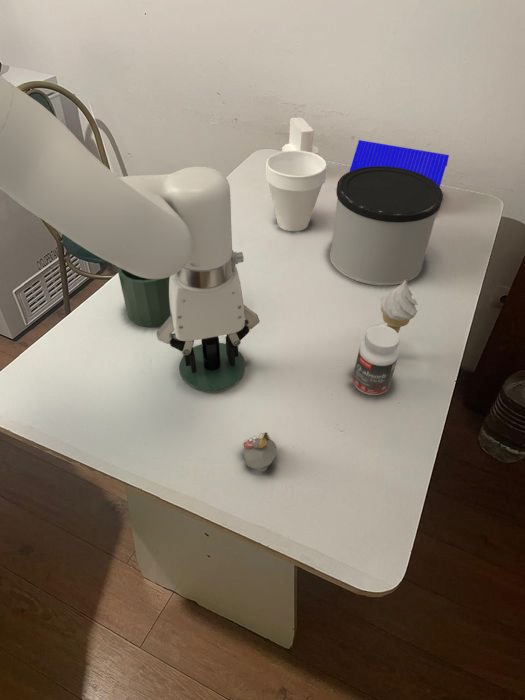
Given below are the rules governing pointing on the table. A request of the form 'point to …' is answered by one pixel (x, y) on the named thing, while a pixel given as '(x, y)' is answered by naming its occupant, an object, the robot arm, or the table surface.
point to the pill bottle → (376, 360)
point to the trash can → (145, 299)
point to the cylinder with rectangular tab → (300, 136)
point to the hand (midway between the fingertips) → (211, 362)
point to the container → (383, 224)
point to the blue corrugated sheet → (400, 159)
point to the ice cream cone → (398, 307)
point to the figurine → (259, 452)
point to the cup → (295, 186)
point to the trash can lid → (212, 367)
